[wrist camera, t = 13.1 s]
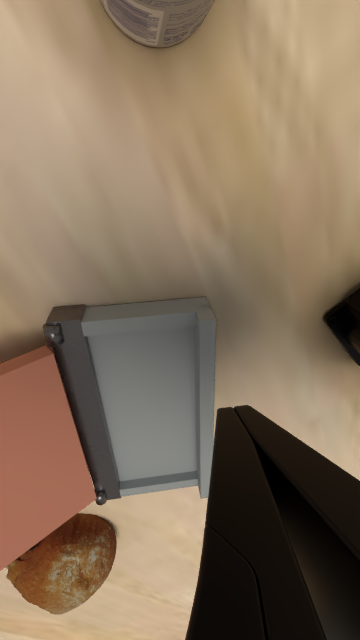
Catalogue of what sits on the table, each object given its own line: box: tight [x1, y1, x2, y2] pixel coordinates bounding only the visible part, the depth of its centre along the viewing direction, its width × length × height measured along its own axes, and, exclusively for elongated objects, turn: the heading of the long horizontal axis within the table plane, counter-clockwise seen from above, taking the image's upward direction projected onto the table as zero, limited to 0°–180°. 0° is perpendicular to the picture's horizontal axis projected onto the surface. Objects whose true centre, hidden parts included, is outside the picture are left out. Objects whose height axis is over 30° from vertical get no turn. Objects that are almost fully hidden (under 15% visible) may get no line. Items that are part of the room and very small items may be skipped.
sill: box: [43, 305, 121, 505], centre depth 23 cm, size 2×18×2 cm, turn 2°
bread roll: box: [6, 513, 116, 615], centre depth 31 cm, size 10×10×8 cm
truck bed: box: [81, 297, 216, 499], centre depth 24 cm, size 8×18×3 cm, turn 2°
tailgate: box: [0, 345, 97, 571], centre depth 20 cm, size 2×15×8 cm
